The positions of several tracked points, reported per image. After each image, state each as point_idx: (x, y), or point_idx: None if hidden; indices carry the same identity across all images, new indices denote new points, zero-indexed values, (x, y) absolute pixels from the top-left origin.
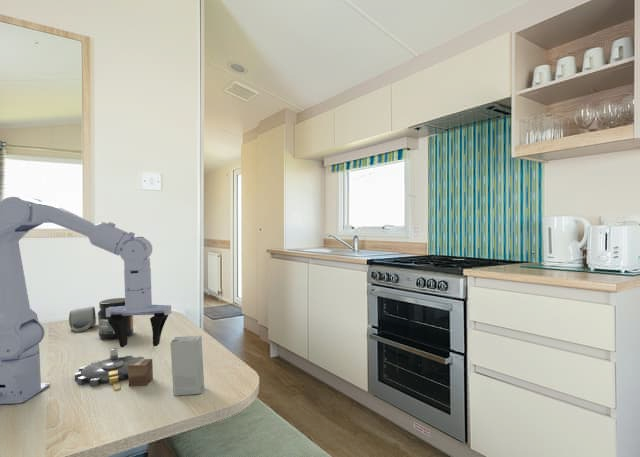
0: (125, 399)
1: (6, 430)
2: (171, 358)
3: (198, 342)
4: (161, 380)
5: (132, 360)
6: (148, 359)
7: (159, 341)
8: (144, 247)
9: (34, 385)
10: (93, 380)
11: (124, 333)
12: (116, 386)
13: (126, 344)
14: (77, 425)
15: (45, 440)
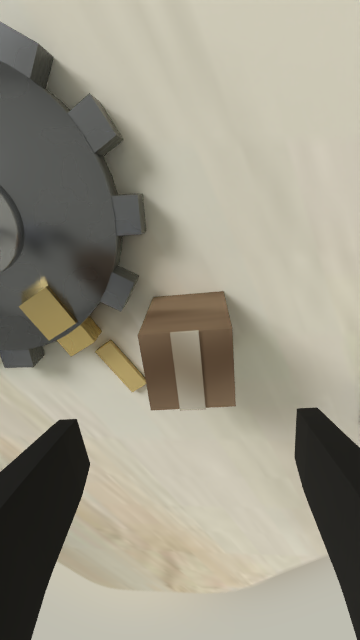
0: (207, 438)
1: None
2: None
3: None
4: (267, 305)
5: (8, 120)
6: (215, 339)
7: (327, 419)
8: None
9: None
10: (18, 366)
11: (35, 522)
12: (123, 371)
13: (78, 429)
14: (167, 535)
15: (144, 570)
